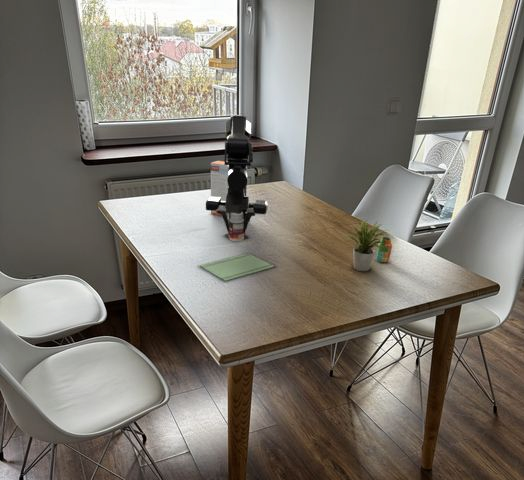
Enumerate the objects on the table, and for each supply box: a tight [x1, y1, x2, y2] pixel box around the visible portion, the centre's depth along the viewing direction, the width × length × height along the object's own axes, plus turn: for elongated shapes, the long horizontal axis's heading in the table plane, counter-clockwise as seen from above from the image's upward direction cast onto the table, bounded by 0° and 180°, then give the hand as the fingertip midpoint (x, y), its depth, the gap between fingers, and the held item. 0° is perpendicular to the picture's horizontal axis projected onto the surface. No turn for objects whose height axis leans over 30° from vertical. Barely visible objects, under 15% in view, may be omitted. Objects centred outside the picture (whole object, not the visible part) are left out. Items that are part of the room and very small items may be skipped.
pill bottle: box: [228, 213, 245, 242], centre depth 164 cm, size 5×5×8 cm
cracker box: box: [210, 160, 229, 217], centre depth 210 cm, size 14×6×21 cm, turn 58°
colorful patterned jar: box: [376, 236, 393, 263], centre depth 177 cm, size 5×5×8 cm
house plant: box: [347, 219, 388, 272], centre depth 168 cm, size 14×14×16 cm
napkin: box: [199, 253, 275, 282], centre depth 170 cm, size 14×20×1 cm
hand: (236, 232), depth 165 cm, fingers closed on pill bottle, 5 cm apart
